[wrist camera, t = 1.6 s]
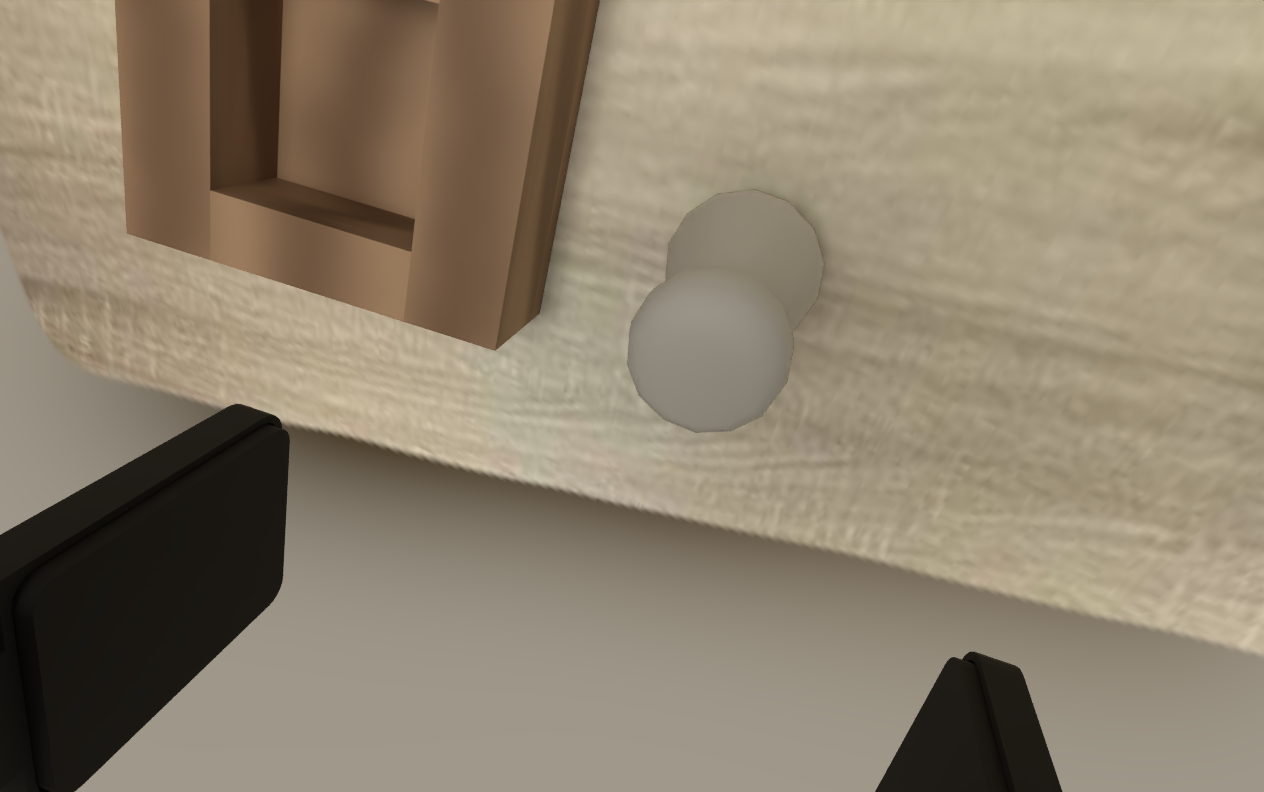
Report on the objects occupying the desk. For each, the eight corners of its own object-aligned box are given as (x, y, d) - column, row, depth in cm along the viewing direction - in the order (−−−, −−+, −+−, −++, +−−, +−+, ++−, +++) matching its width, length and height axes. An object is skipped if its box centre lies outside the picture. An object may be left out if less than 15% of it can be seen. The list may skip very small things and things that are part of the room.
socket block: (608, -45, 28) (565, -67, 23) (539, 313, 34) (495, 350, 29) (214, -143, 30) (105, -182, 25) (215, 213, 36) (126, 233, 31)
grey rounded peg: (766, 352, 32) (732, 512, 20) (651, 276, 32) (550, 394, 20) (854, 233, 30) (872, 339, 18) (729, 151, 29) (665, 203, 18)
